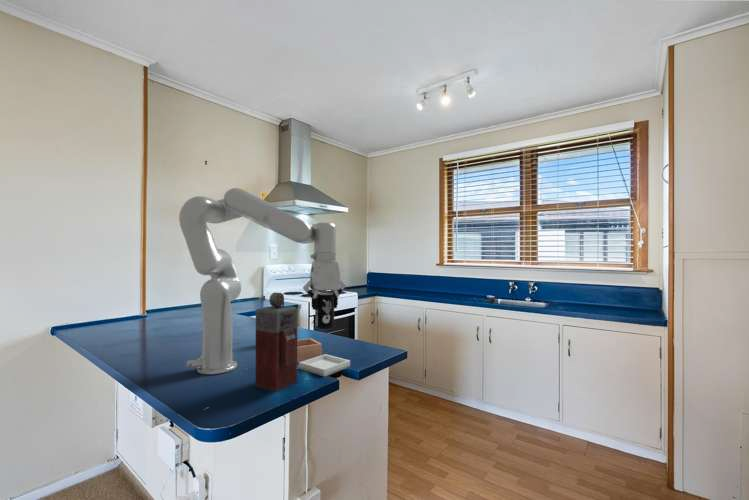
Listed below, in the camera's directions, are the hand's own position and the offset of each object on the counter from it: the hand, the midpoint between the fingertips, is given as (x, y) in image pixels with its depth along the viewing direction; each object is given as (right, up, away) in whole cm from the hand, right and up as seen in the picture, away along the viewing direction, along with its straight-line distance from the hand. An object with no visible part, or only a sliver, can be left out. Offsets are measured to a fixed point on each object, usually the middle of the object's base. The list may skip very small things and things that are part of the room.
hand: (324, 308), depth 121 cm
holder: (-10, -21, +12) cm, 26 cm away
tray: (0, -21, 0) cm, 21 cm away
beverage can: (0, -7, 0) cm, 7 cm away
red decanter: (-12, -21, -16) cm, 29 cm away
